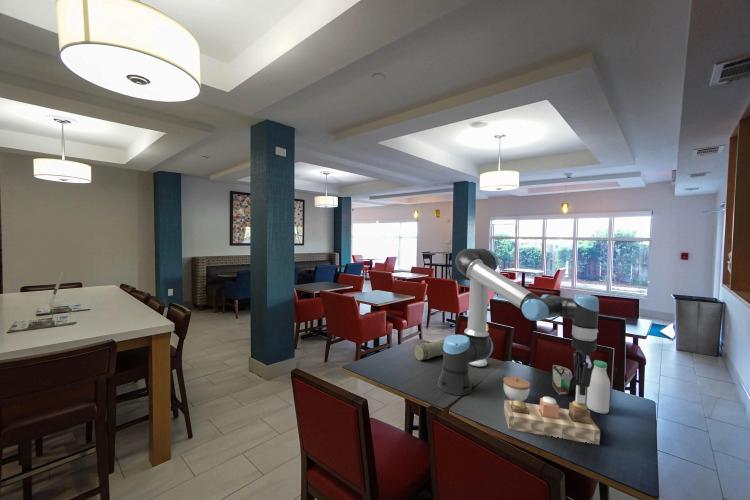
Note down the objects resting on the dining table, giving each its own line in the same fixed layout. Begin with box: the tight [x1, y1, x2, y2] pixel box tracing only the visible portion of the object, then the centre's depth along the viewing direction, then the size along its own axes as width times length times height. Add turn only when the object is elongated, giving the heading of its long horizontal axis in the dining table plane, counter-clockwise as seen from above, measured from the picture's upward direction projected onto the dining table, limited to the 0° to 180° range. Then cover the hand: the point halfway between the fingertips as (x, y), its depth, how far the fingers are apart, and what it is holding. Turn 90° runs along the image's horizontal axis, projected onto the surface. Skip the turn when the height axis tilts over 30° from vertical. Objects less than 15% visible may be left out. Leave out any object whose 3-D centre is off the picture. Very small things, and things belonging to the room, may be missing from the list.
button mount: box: [503, 399, 601, 446], centre depth 118 cm, size 29×12×5 cm, turn 75°
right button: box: [568, 400, 591, 424], centre depth 115 cm, size 5×5×6 cm
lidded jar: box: [502, 375, 531, 402], centre depth 138 cm, size 11×11×9 cm
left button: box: [511, 400, 528, 414], centre depth 120 cm, size 5×5×6 cm
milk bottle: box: [585, 359, 611, 414], centre depth 132 cm, size 8×8×20 cm
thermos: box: [413, 338, 445, 361], centre depth 187 cm, size 9×12×35 cm
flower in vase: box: [469, 322, 489, 367], centre depth 174 cm, size 13×11×25 cm
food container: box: [552, 364, 573, 397], centre depth 147 cm, size 12×6×10 cm, turn 168°
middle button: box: [539, 396, 560, 419], centre depth 118 cm, size 5×5×6 cm
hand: (580, 402), depth 115 cm, fingers closed
